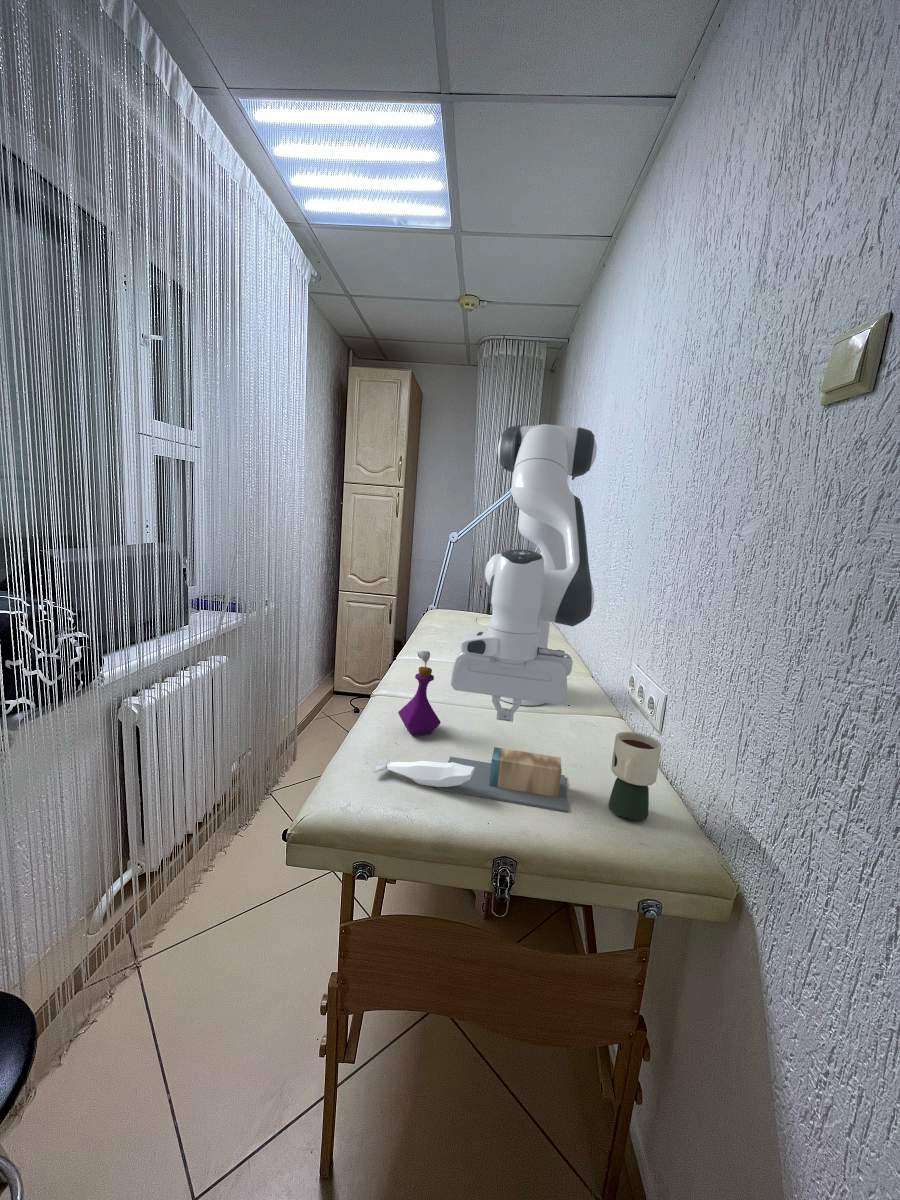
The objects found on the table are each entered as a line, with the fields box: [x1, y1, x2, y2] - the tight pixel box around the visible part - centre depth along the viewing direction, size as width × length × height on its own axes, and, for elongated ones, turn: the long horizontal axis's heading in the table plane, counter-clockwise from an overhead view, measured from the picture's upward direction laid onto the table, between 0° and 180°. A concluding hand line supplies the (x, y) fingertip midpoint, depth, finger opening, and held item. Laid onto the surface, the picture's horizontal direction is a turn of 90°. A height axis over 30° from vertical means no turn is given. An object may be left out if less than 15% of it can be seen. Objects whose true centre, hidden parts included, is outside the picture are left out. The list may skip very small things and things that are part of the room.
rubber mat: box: [437, 756, 569, 813], centre depth 90 cm, size 12×22×1 cm, turn 80°
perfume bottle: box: [397, 650, 441, 737], centre depth 108 cm, size 8×8×18 cm
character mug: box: [607, 731, 662, 821], centre depth 83 cm, size 11×7×13 cm, turn 147°
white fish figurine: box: [372, 757, 476, 788], centre depth 87 cm, size 6×18×4 cm, turn 71°
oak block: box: [489, 746, 562, 797], centre depth 89 cm, size 5×5×12 cm
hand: (504, 719), depth 89 cm, fingers closed
